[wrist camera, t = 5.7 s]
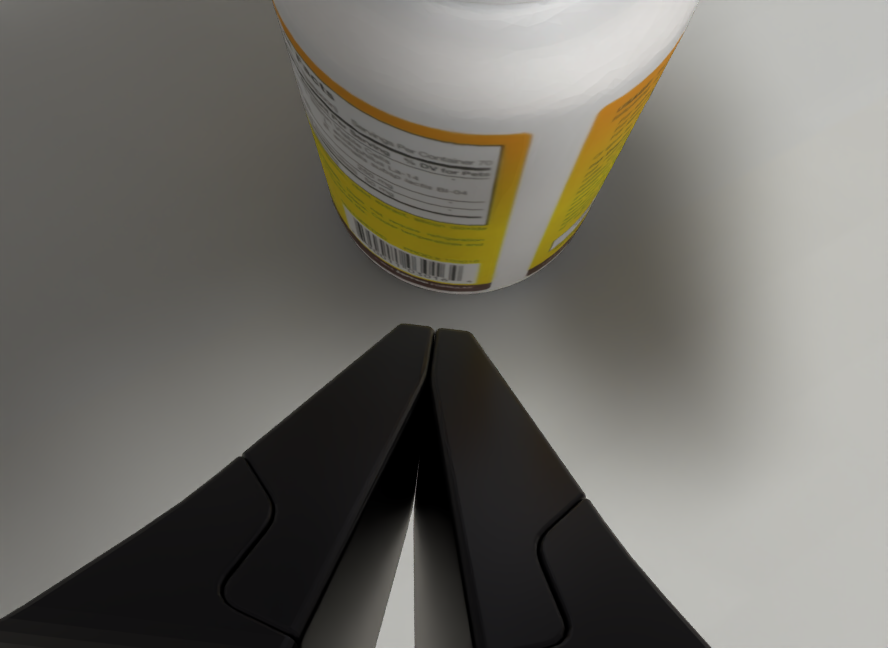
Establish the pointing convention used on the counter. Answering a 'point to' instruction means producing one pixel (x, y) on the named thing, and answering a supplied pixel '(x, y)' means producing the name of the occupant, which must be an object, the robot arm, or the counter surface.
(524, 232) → the supplement bottle
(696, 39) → the counter surface
